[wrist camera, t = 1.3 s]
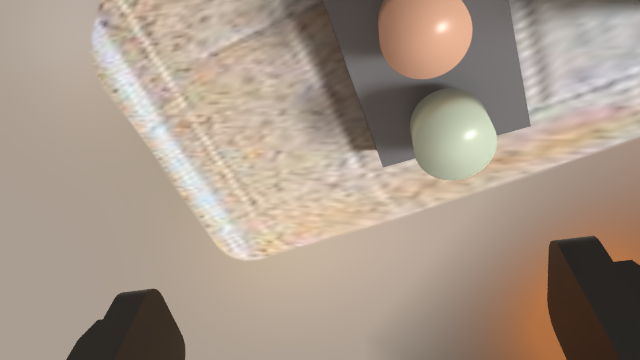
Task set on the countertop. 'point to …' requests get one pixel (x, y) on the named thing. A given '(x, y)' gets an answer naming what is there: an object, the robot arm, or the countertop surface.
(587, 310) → the robot arm
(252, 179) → the countertop surface
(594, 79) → the countertop surface
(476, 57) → the button panel
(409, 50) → the terracotta button
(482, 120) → the sage button
